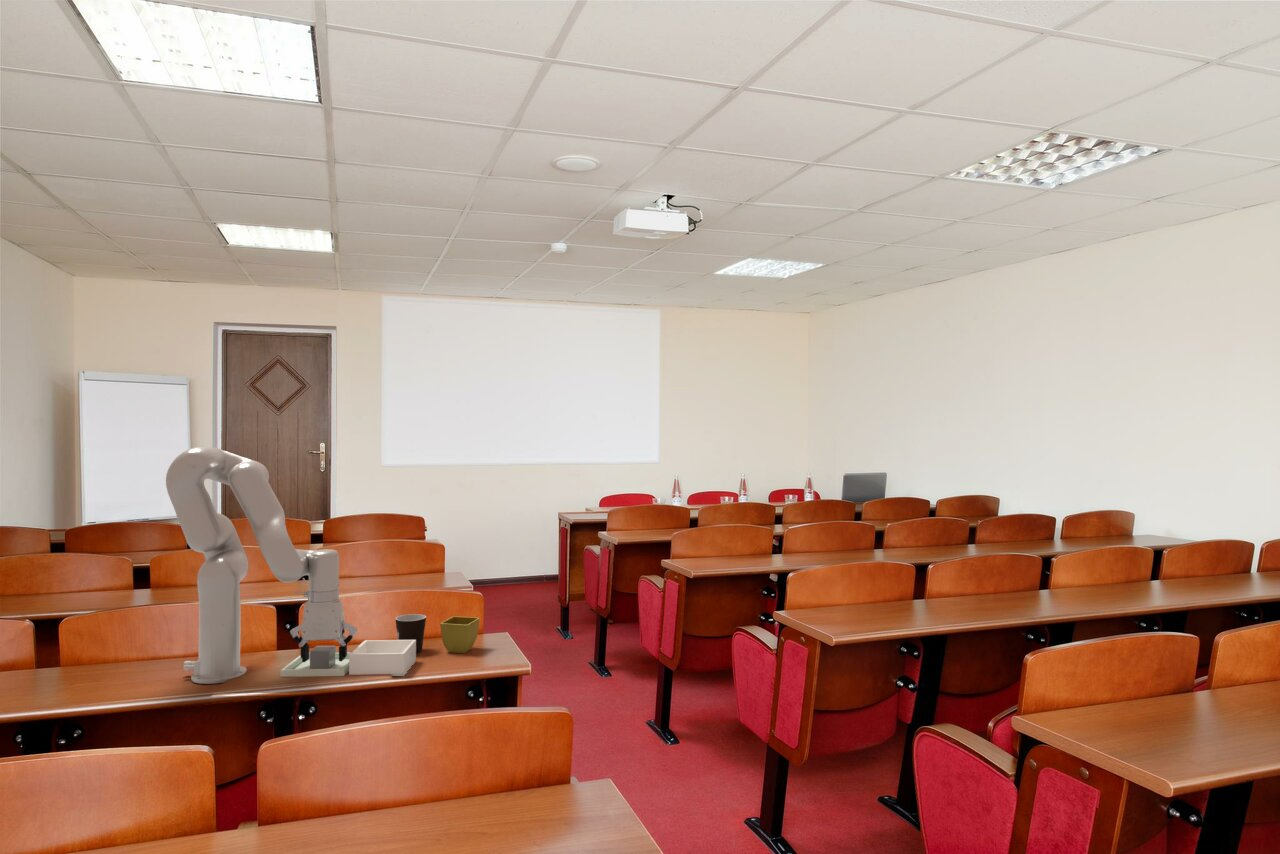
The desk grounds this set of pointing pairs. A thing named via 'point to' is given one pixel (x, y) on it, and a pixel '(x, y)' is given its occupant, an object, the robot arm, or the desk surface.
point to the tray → (303, 669)
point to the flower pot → (459, 633)
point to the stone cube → (322, 657)
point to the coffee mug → (411, 629)
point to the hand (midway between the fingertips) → (323, 660)
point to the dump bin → (383, 657)
